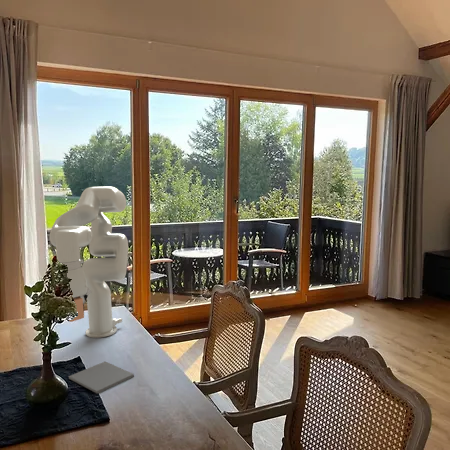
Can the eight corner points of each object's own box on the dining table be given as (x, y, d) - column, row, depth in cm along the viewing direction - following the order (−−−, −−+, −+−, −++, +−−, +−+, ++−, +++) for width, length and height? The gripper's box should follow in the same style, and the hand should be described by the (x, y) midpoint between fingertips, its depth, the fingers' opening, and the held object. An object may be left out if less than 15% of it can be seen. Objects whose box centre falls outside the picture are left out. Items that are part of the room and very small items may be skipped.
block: (76, 315, 160) (74, 295, 159) (84, 317, 157) (82, 298, 156) (63, 319, 156) (61, 299, 155) (71, 321, 153) (69, 302, 152)
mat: (105, 363, 158) (105, 361, 158) (133, 376, 148) (133, 373, 148) (68, 378, 148) (68, 376, 148) (97, 393, 137) (97, 391, 137)
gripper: (85, 259, 163) (88, 308, 165) (40, 269, 150) (44, 321, 152) (97, 262, 158) (100, 312, 160) (51, 272, 145) (56, 326, 148)
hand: (73, 316), depth 156 cm, fingers closed on block, 5 cm apart
